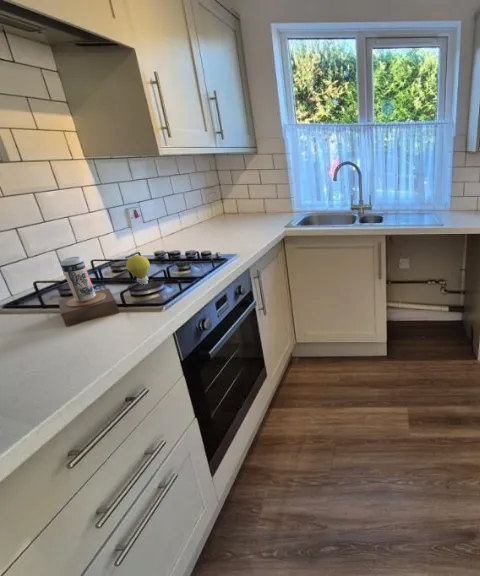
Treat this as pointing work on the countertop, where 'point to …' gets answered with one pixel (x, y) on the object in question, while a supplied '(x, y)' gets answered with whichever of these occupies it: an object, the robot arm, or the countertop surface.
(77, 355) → the countertop surface
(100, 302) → the block
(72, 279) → the beer can
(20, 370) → the countertop surface
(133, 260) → the light bulb
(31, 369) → the countertop surface
